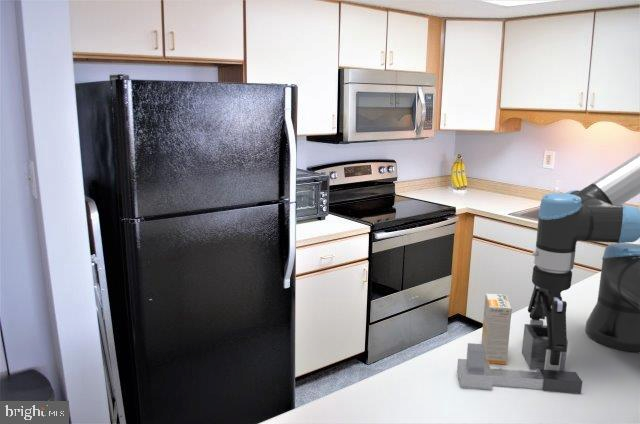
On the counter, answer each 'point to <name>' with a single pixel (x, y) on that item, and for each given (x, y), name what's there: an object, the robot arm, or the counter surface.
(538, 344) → the hollow square tube
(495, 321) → the supplement box
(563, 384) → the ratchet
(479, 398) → the counter surface
